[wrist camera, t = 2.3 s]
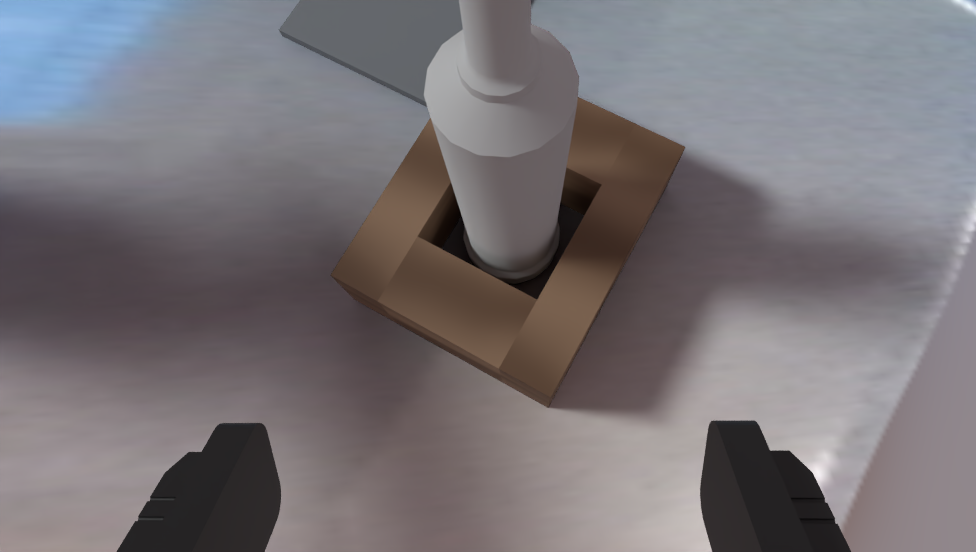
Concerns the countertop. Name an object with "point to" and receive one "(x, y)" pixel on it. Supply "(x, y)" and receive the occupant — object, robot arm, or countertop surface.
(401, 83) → the slate mat
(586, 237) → the walnut holder
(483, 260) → the bottle
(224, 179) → the countertop surface
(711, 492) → the robot arm
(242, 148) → the countertop surface
